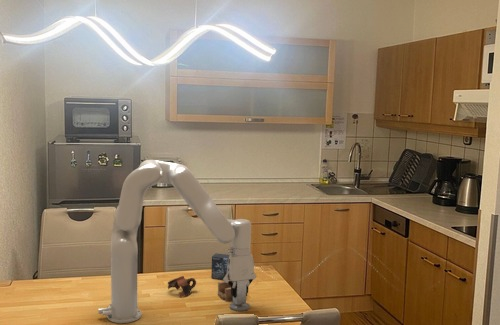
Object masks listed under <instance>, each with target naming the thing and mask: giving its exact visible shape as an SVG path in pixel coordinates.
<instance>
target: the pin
mask: <svg viewBox="0 0 500 325" xmlns="http://www.w3.org/2000/svg"><path fill="white" fill-rule="evenodd" d="M246 286H247V280H243V281H236V289H237V290H236V298H234V297H233V300H232V302H234V303H235V304H236V305H238V304H245V303H246V302H247V296H246Z"/></svg>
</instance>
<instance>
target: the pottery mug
mask: <svg viewBox="0 0 500 325" xmlns="http://www.w3.org/2000/svg"><path fill="white" fill-rule="evenodd" d="M191 282H192V284H191ZM167 284H168V285H167V289H168V290H170V289H171V288H175V289H176V290H179V289H182V290H181V291H180V292H178V296H179V298H183V297H186V296H189V295H191V292H192V290H193V289H194V288H195V287H196V285H197V281H196V279H195V278H194V277H190V278H185V276H179V277H176V278H173V279H172V280H169V281H168V282H167Z"/></svg>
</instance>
